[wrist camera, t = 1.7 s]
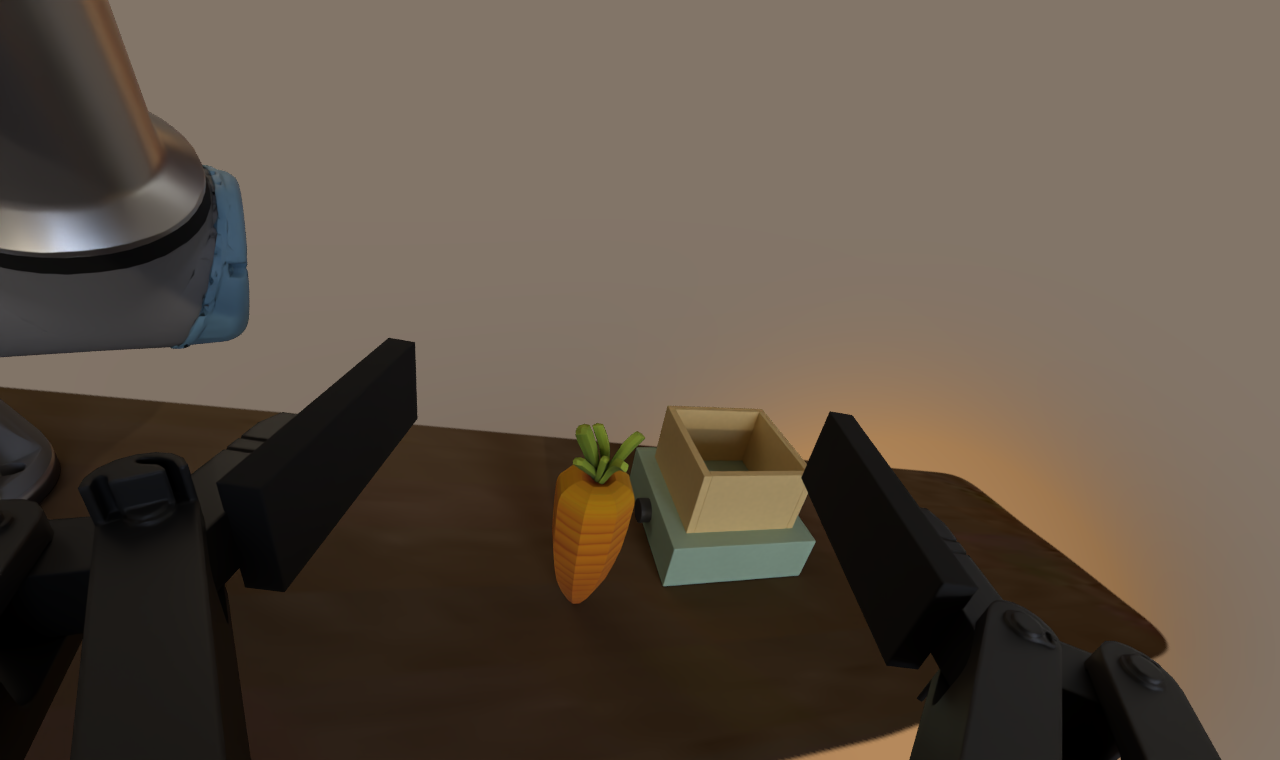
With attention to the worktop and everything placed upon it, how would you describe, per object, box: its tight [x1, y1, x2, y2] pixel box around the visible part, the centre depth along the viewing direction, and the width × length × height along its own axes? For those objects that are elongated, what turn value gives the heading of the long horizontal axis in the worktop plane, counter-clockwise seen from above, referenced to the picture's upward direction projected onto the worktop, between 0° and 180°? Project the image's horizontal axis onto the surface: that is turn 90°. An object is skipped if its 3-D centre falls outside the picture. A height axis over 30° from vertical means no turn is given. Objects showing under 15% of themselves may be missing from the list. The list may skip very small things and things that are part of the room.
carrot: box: [552, 423, 645, 604], centre depth 30 cm, size 5×5×15 cm
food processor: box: [630, 406, 816, 586], centre depth 41 cm, size 13×12×10 cm
